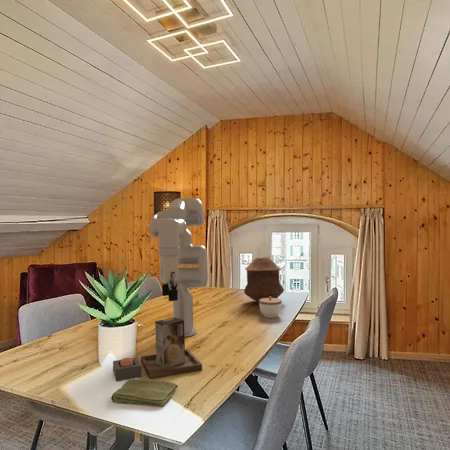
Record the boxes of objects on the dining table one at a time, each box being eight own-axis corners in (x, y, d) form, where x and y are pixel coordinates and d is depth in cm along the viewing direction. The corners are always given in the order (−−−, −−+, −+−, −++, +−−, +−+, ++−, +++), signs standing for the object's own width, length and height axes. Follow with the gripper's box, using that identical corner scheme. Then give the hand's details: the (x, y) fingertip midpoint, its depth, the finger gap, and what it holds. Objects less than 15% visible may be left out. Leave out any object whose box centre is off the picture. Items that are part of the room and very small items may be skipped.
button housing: (113, 372, 135) (112, 360, 134) (137, 368, 138) (137, 357, 138) (115, 381, 127) (115, 369, 127) (141, 376, 130) (141, 365, 130)
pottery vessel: (283, 308, 227) (282, 259, 227) (241, 307, 232) (241, 259, 231) (284, 299, 253) (283, 255, 252) (246, 298, 257) (246, 255, 257)
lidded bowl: (279, 319, 202) (279, 299, 202) (256, 318, 206) (256, 298, 206) (283, 314, 214) (283, 295, 214) (262, 312, 218) (261, 293, 218)
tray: (140, 362, 144) (140, 356, 144) (188, 354, 151) (188, 349, 151) (149, 379, 128) (149, 373, 128) (202, 370, 135) (202, 364, 135)
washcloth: (165, 409, 108) (165, 398, 108) (108, 404, 112) (108, 394, 112) (179, 389, 121) (178, 379, 121) (128, 385, 124) (128, 375, 124)
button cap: (119, 367, 133) (119, 358, 133) (132, 365, 135) (132, 357, 135) (121, 371, 129) (121, 363, 129) (134, 369, 131) (134, 361, 131)
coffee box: (176, 357, 145) (176, 316, 145) (185, 362, 140) (185, 320, 140) (155, 363, 139) (154, 320, 139) (163, 369, 134) (163, 324, 134)
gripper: (154, 250, 145) (154, 294, 146) (164, 254, 129) (165, 304, 130) (172, 249, 148) (173, 292, 149) (185, 253, 132) (186, 301, 133)
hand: (169, 298), depth 139 cm, fingers open, 9 cm apart
